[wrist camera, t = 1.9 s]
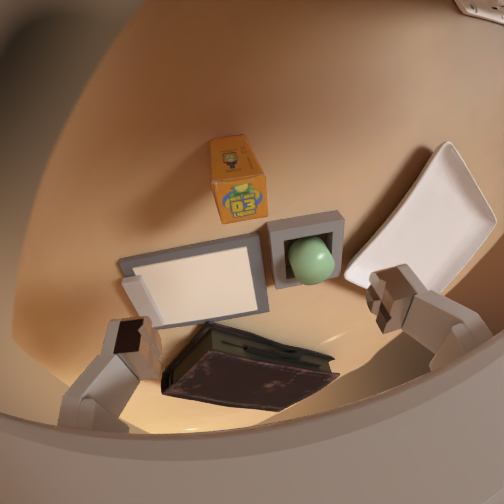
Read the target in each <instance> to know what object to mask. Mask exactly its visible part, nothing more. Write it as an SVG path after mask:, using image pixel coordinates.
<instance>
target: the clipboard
mask: <svg viewBox="0 0 504 504" xmlns="http://www.w3.org/2000/svg"><path fill="white" fill-rule="evenodd" d="M118 264H119V266H120V268H121V270H122V272H123V274H124V276H125V278H123V279H122V283H121V284H122V286H123V288H124V290H125V292H126V293H127V295H128V297H129V299H130V301H131V302H132V304H133V306H134V308H135V309H136V311H137V313H138V314H139V316H149V318H150V319H151V321H152V327H153V328H154V329H156V330H159V329H167V328H174V327H181V326H188V325H195V324H201V323H208V322H209V321H210V322H214V321H220V320H226V319H232V318H238V317H243V316H249V315H254V314H260V313H265V312H270V311H269V304H268V296H267V289H266V282H265V274H264V267H263V260H262V252H261V245H260V238H259V234H258V232H255V233H249V234H244V235H239V236H233V237H228V238H223V239H217V240H212V241H207V242H202V243H196V244H191V245H186V246H181V247H176V248H171V249H166V250H161V251H156V252H151V253H146V254H141V255H136V256H131V257H127V258H122V259H120V260H119V262H118Z"/></svg>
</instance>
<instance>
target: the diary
mask: <svg viewBox="0 0 504 504" xmlns="http://www.w3.org/2000/svg"><path fill="white" fill-rule="evenodd" d="M331 360H335V358H333V357H332V356H329V355H326V354H322V353H319V352H315V351H312V350H308V349H302V348H297V347H293V346H288V345H283V344H281V343H278V342H275V341H272V340H269V339H267V338H264V337H261V336H259V335H256V334H253V333H251V332H247V331H243V330H239V329H235V328H231V327H228V326H224V325H220V324H216V323H213V322H210V321H209V322H208V323H207V324H206V325H205V326H204V327H203V328H202V329H201V331H200V332H199V333H198V334H197V335H196V336H195V337H194V338H193V340H192V341H191V342H190V343H189V344H188V345H187V346H186V347H185V348H184V350H183V351H182V352H181V353H180V354H179V355H178V356H177V357H176V359H175V360H174V361H173V362H172V363H171V364H170V365H169V366H168V367H167V369H166V370H165V371H164V372H163V374H162V379H161V392H162V395H167V396H172V397H177V398H183V399H188V400H195V401H200V402H205V403H210V404H215V405H221V406H227V407H235V408H247V409H258V410H265V411H273V412H280V411H281V410H283V409H285V408H287V407H289V406H291V405H293V404H295V403H297V402H299V401H301V400H303V399H305V398H307V397H309V396H311V395H312V394H314V393H316V392H317V391H319V390H321V389H322V388H324V387H325V386H327V385H328V384H329V383H331V382H332V381H334V380H335V379H336V378H337V377H338V376H339V375H340V373H332V372H331V369H330V366H329V363H328V362H329V361H331Z"/></svg>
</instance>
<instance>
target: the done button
mask: <svg viewBox="0 0 504 504" xmlns="http://www.w3.org/2000/svg"><path fill="white" fill-rule="evenodd" d="M288 259H289V262H290V264H291V267H292V270H293V272H294V275H295V277H296V279H297V281H299V282H300V283H302V284H305V285H315V284H318V283H321V282H323V281H324V280H326V279H327V278H328V277H329V276H330V275H331V274H332V272H333V270H334V267H335V262H334V259H333V257H332V255H331V254H330V252H329V250H328V248H327V247H326V245H325V243H324V242H323V240H322V239H320V238H319V237H317V236H307V237H301V238H299V239H298V240H296V241H295V242H294V243H293V244H292V245H291V247H290V248H289V251H288Z"/></svg>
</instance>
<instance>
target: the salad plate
mask: <svg viewBox="0 0 504 504" xmlns="http://www.w3.org/2000/svg"><path fill="white" fill-rule="evenodd" d="M496 224H497V219H496V217H495V215H494V213H493V211H492V209H491V207H490V205H489V204H488V202H487V200H486V198H485V197H484V195H483V193H482V191H481V190H480V188H479V186H478V185H477V183H476V181H475V179H474V178H473V176H472V174H471V172H470V171H469V169H468V167H467V165H466V164H465V162H464V160H463V159H462V157H461V156H460V154H459V152H458V151H457V150H456V148H455V147H454V146H453V144H452V143H451V142H449V141H446V142H443V143H442V144H440V145H439V146H438V147H437V148H436V150H435V151H434V152H433V154H432V155H431V157H430V158H429V160H428V162H427V163H426V165H425V167H424V168H423V170H422V171H421V173H420V175H419V176H418V178H417V179H416V181H415V182H414V184H413V185H412V186H411V188H410V189H409V191H408V192H407V193H406V195H405V196H404V197H403V199H402V200H401V202H400V203H399V204H398V205H397V207H396V208H395V209H394V211H393V212H392V213H391V214H390V216H389V217H388V218H387V219H386V221H385V222H384V223H383V224H382V226H381V227H380V228H379V229H378V230H377V231H376V233H375V234H374V235H373V236H372V237H371V238H370V239H369V241H368V242H367V243H366V244H365V245H364V246H363V247H362V248H361V249H360V250H359V251H358V253H357V254H356V255H355V256H354V257H353V258H352V259H351V260H350V262H349V263H348V265H347V266H346V268H345V271H344V278H345V279H346V280H347V281H349V282H351V283H353V284H355V285H357V286H360V287H362V288H364V289H367V288H368V287H369V286H370V285H371V283H370V282H369V276H370V274H371V273H372V272H374V271H378V270H382V269H386V268H390V267H394V266H397V265H401V264H407V265H408V266H409V267H410V268H411V269H412V271H413V272H414V273H415V274H416V276H417V277H418V278H419V279H420V281H421V282H422V283H423V285H424V286H425V287H426V288H427V290H428V291H429V290H432V291H434V292H436V293H438V294H440V293H441V292H442V291H443V290H444V289H445V288H446V287H447V286H448V284H449V283H450V282H451V281H452V280H453V279H454V278H455V277H456V276H457V274H458V273H459V272H460V271H461V270H462V269H463V268H464V266H465V265H466V264H467V263H468V262H469V260H470V259H471V258H472V257H473V255H474V254H475V253H476V252H477V250H478V249H479V248H480V246H481V245H482V244H483V242H484V241H485V240H486V238H487V237H488V236H489V234H490V233H491V231H492V230H493V229H494V227H495V226H496Z"/></svg>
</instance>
